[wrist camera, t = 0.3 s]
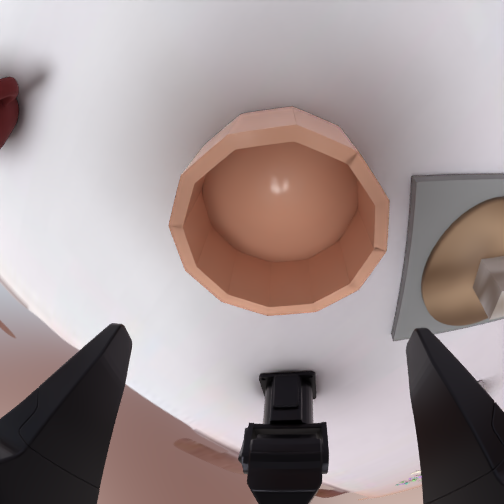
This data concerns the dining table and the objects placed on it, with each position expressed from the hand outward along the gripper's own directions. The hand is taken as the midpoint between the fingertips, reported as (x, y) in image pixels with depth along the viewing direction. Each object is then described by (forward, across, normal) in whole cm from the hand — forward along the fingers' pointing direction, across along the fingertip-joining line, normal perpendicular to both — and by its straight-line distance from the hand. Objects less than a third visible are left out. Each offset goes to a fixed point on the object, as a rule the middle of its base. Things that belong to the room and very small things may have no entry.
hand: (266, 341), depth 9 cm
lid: (+13, -19, +8) cm, 24 cm away
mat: (+14, -19, +8) cm, 25 cm away
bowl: (+14, 0, +2) cm, 14 cm away
